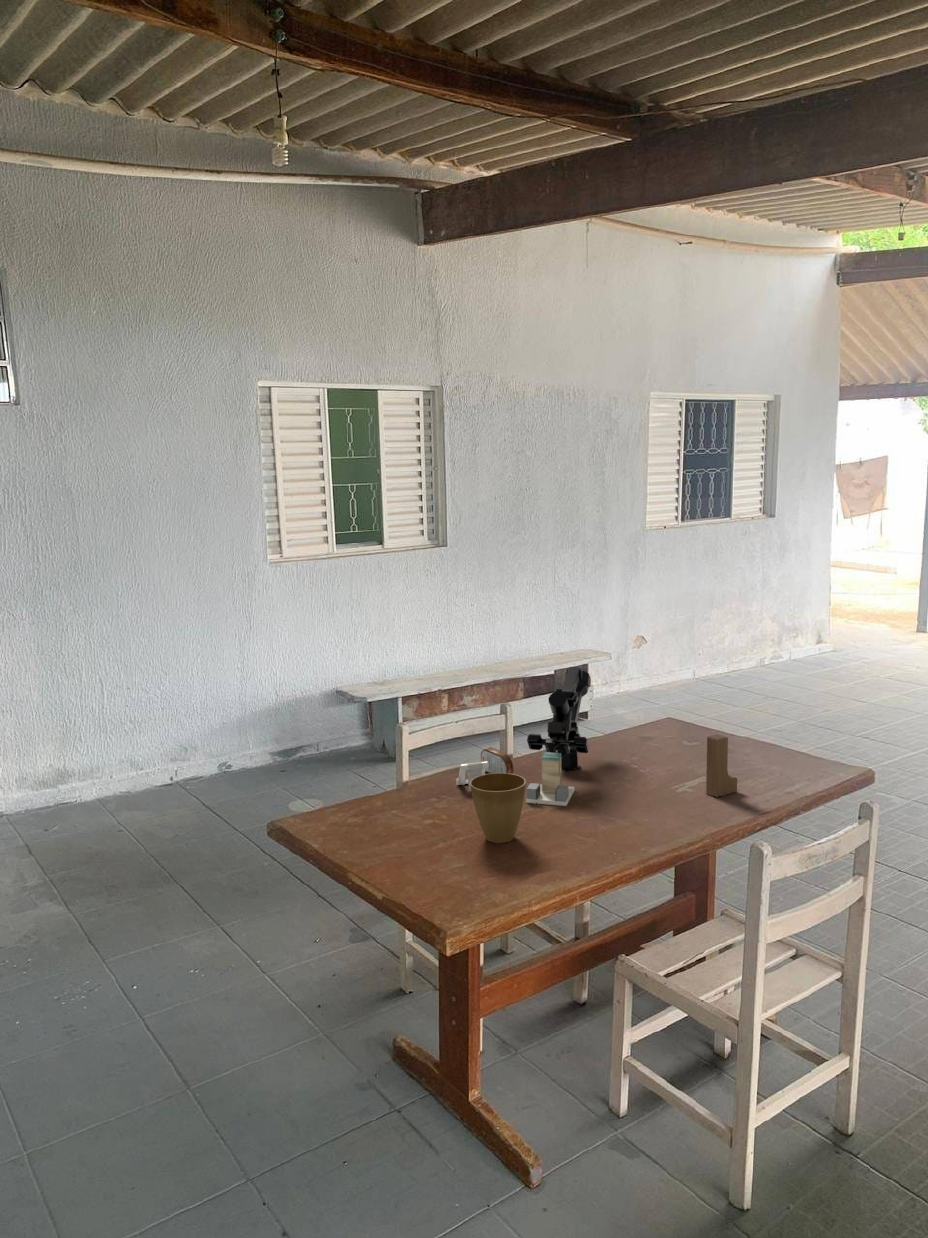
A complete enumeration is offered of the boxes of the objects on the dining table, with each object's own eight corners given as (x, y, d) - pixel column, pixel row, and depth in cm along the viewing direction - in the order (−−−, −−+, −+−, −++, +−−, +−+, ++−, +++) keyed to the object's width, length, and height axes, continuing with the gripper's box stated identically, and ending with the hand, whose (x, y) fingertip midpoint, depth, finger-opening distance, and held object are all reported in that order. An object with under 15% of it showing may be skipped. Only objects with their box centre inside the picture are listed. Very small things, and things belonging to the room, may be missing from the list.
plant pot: (497, 823, 259) (496, 768, 256) (538, 837, 248) (537, 780, 246) (459, 839, 249) (458, 782, 246) (500, 854, 238) (498, 794, 236)
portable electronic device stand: (481, 781, 295) (481, 756, 294) (490, 789, 288) (489, 763, 286) (456, 785, 292) (455, 759, 291) (464, 793, 285) (463, 766, 284)
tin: (514, 780, 295) (514, 754, 294) (506, 782, 294) (506, 756, 292) (487, 768, 308) (486, 744, 306) (479, 770, 306) (478, 746, 305)
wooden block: (726, 788, 283) (727, 731, 280) (737, 792, 279) (738, 734, 277) (705, 794, 278) (706, 736, 276) (717, 798, 275) (718, 739, 272)
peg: (545, 786, 284) (545, 752, 282) (561, 787, 282) (561, 753, 281) (541, 792, 279) (541, 757, 277) (558, 793, 278) (558, 758, 276)
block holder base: (536, 787, 288) (535, 774, 287) (574, 790, 284) (574, 777, 283) (526, 802, 275) (526, 788, 274) (566, 806, 271) (566, 791, 271)
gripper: (527, 708, 289) (520, 753, 280) (587, 712, 284) (581, 757, 275) (533, 726, 298) (526, 770, 289) (591, 730, 292) (585, 774, 283)
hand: (554, 767), depth 284 cm, fingers closed
